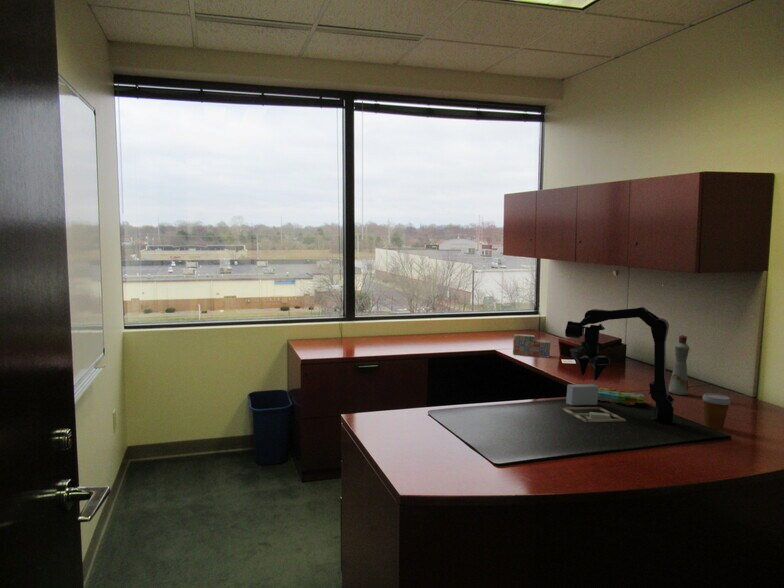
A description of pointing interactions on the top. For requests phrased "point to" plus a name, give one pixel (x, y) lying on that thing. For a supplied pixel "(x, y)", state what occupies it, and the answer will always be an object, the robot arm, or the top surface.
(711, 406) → the disposable coffee cup
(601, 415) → the offcut upper
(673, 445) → the top surface
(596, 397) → the light grey block
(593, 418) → the offcut lower
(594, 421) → the frame
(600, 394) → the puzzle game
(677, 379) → the bottle
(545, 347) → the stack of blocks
